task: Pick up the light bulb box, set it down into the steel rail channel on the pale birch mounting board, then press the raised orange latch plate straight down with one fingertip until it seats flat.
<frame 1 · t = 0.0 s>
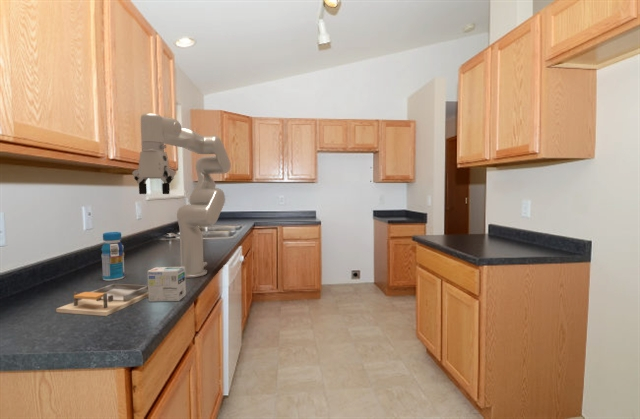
hand: (154, 194, 124), 37 cm above the counter, tool pointing down, fingers open, 9 cm apart
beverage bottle: (113, 279, 143), on the counter
latch plate: (90, 295, 105), point 5 cm above the counter, slide at 3.0 cm
light bulb box: (167, 299, 116), on the counter
rail mount: (112, 301, 113), on the counter
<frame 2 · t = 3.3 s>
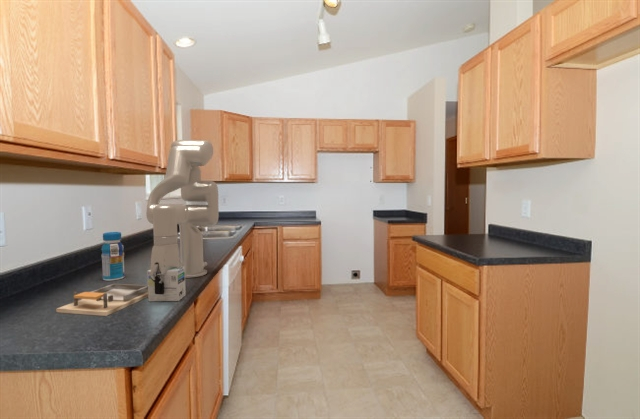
hand: (167, 290, 116), 3 cm above the counter, tool pointing down, fingers closed on light bulb box, 7 cm apart
light bulb box: (167, 299, 116), on the counter, touching gripper
everything else where it was.
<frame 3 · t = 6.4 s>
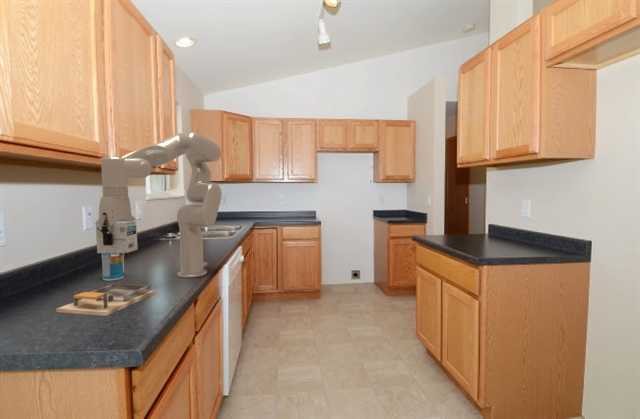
hand: (117, 243, 115), 20 cm above the counter, tool pointing down, fingers closed on light bulb box, 7 cm apart
light bulb box: (117, 252, 116), point 17 cm above the counter, touching gripper
everything else where it was.
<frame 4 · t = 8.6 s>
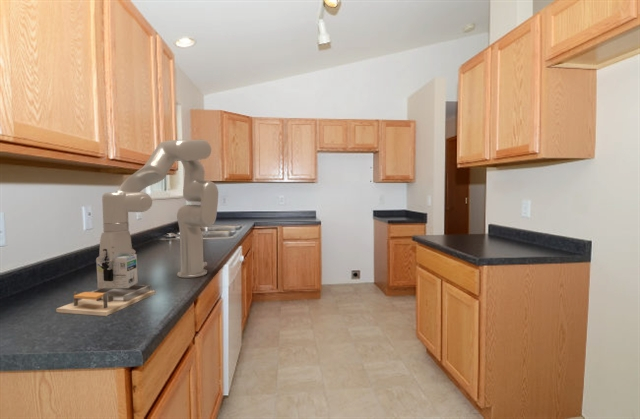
hand: (117, 277, 116), 8 cm above the counter, tool pointing down, fingers closed on light bulb box, 7 cm apart
light bulb box: (118, 286, 116), point 4 cm above the counter, touching gripper
everything else where it was.
when the fingers open (6 cm above the counter, at t = 9.6 s): light bulb box drops 1 cm, resting on rail mount.
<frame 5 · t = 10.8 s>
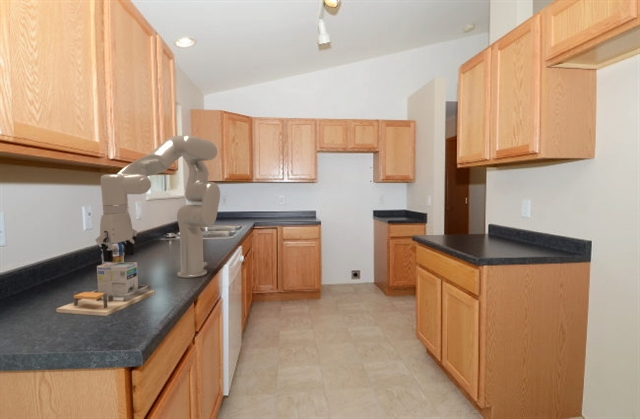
hand: (119, 258, 116), 14 cm above the counter, tool pointing down, fingers open, 9 cm apart
light bulb box: (118, 294, 116), point 1 cm above the counter, touching rail mount
everything else where it was.
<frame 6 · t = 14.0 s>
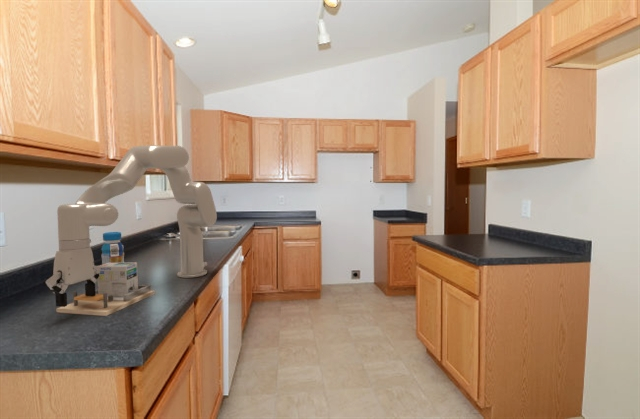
hand: (76, 300, 100), 5 cm above the counter, tool pointing down, fingers open, 9 cm apart
latch plate: (90, 297, 105), point 4 cm above the counter, slide at 2.4 cm, touching gripper
everything else where it was.
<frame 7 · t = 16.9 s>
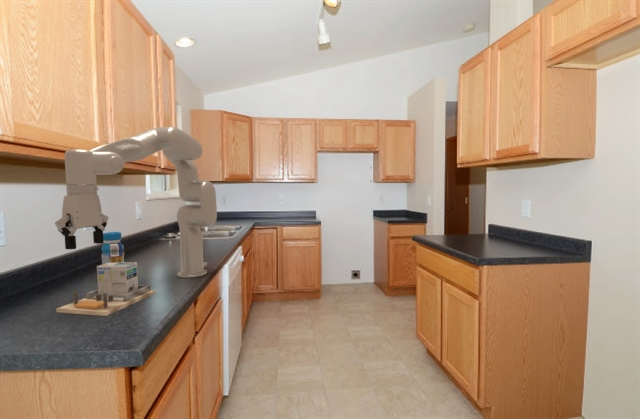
hand: (85, 246, 102), 21 cm above the counter, tool pointing down, fingers open, 9 cm apart
latch plate: (90, 304, 105), point 2 cm above the counter, slide at 0.1 cm
everything else where it was.
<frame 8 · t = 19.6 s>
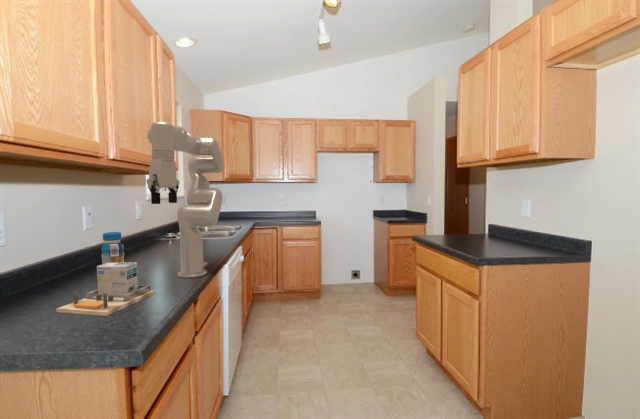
hand: (164, 203, 122), 33 cm above the counter, tool pointing down, fingers open, 9 cm apart
nothing on the counter moved.
at the end: light bulb box 0.1 cm from the target spot on the rail mount, point 1.4 cm above the rail mount's base; latch plate slide at 0.1 cm; light bulb box tilted 0° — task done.
